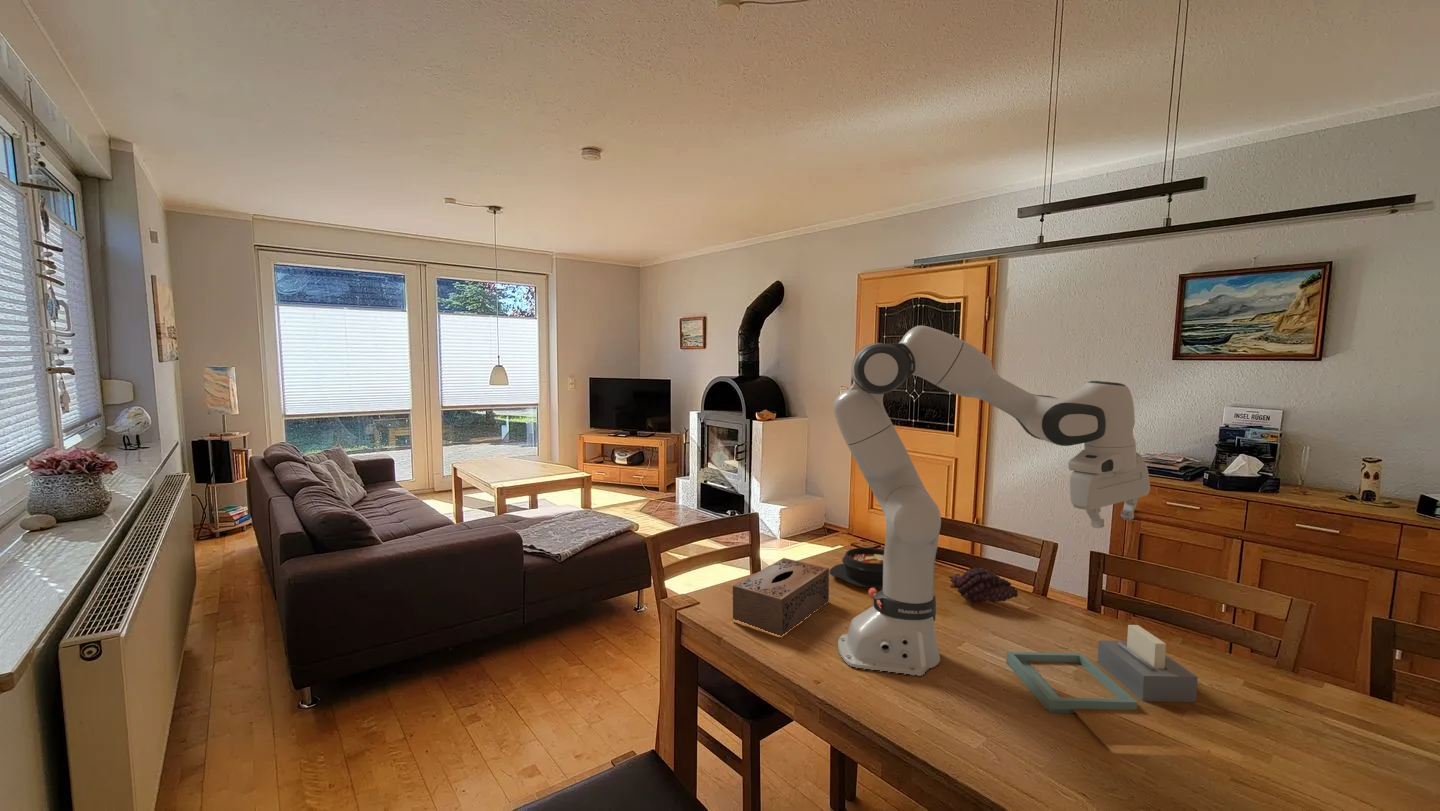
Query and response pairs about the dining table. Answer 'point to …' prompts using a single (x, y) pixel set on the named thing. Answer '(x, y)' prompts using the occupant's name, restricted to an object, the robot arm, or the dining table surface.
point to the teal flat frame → (1051, 696)
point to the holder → (1147, 674)
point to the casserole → (861, 567)
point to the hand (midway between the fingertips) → (1112, 523)
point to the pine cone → (982, 586)
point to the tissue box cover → (781, 595)
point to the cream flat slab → (1146, 646)
